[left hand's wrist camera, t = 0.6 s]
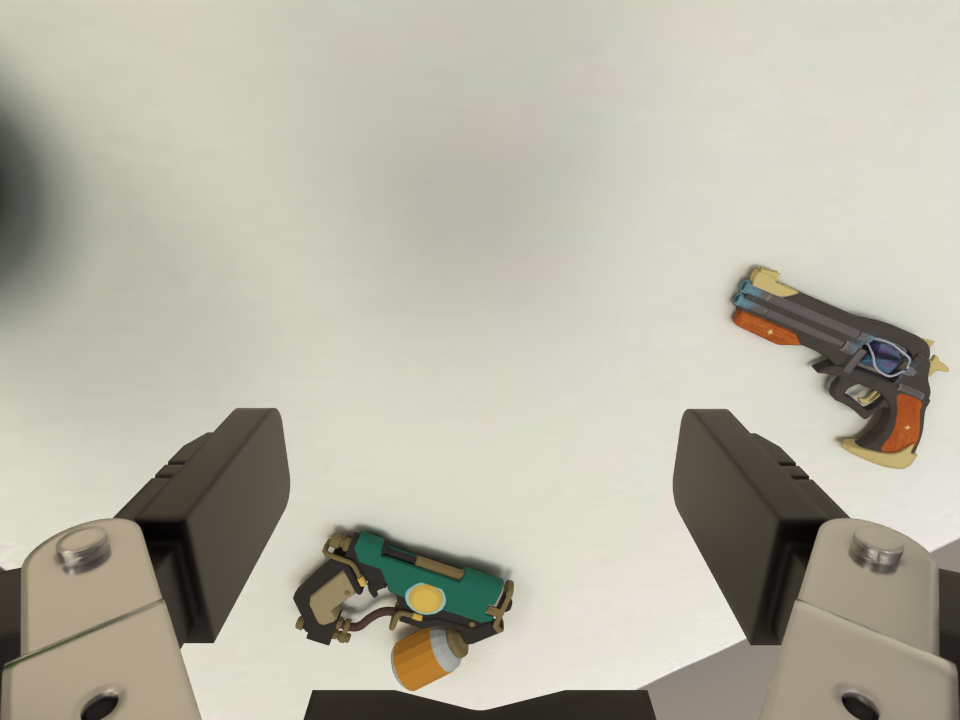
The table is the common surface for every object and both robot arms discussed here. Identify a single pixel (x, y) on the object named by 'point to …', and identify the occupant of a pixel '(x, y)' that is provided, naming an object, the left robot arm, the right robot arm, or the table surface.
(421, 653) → the spray gun
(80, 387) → the table surface
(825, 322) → the toy gun
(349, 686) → the table surface
